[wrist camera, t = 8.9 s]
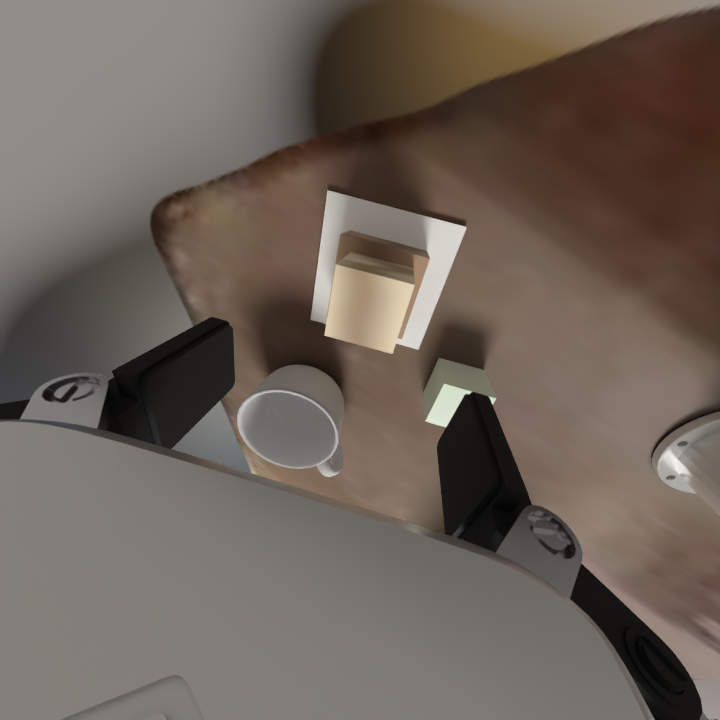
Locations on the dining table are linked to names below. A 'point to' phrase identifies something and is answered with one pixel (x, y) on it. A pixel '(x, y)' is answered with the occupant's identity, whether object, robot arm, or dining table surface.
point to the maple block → (369, 301)
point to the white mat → (397, 228)
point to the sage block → (452, 389)
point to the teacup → (295, 419)
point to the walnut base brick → (386, 259)
